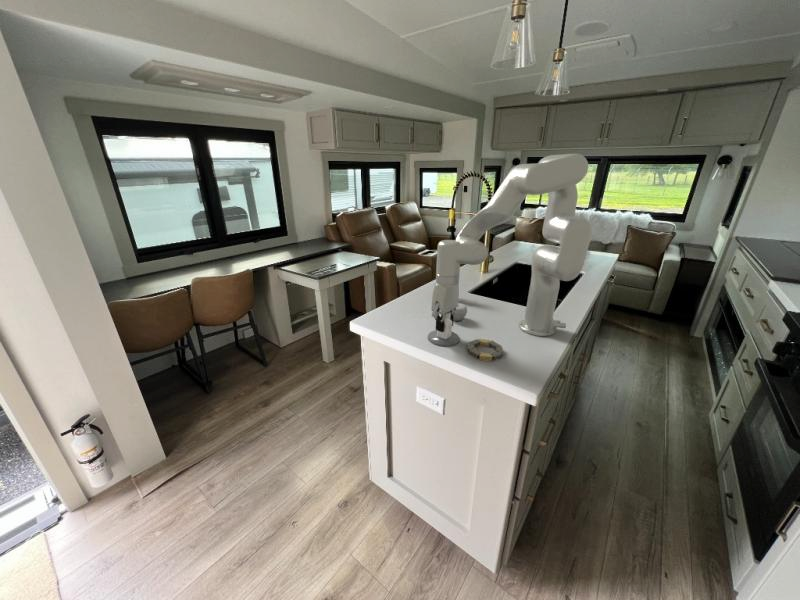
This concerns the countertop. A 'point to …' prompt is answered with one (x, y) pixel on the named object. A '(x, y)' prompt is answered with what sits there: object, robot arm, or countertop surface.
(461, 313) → the octagonal pegged knob
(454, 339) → the gray glossy dome
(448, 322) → the salt shaker
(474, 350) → the collar
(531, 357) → the countertop surface
